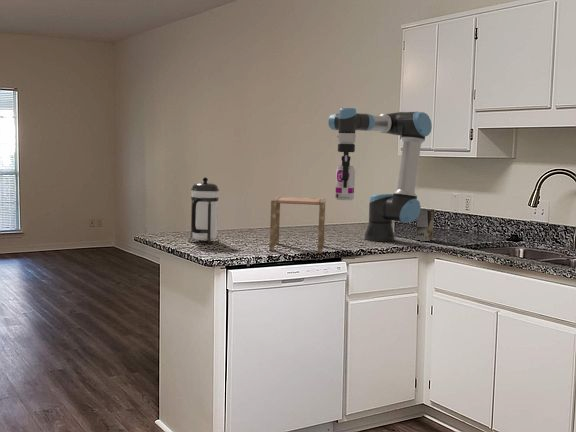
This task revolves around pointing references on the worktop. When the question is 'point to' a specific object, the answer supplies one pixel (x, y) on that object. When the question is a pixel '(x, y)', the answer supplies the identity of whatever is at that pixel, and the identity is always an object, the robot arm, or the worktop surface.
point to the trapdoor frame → (276, 223)
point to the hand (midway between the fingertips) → (344, 194)
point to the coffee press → (204, 211)
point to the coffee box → (425, 225)
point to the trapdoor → (299, 201)
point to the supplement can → (350, 183)
